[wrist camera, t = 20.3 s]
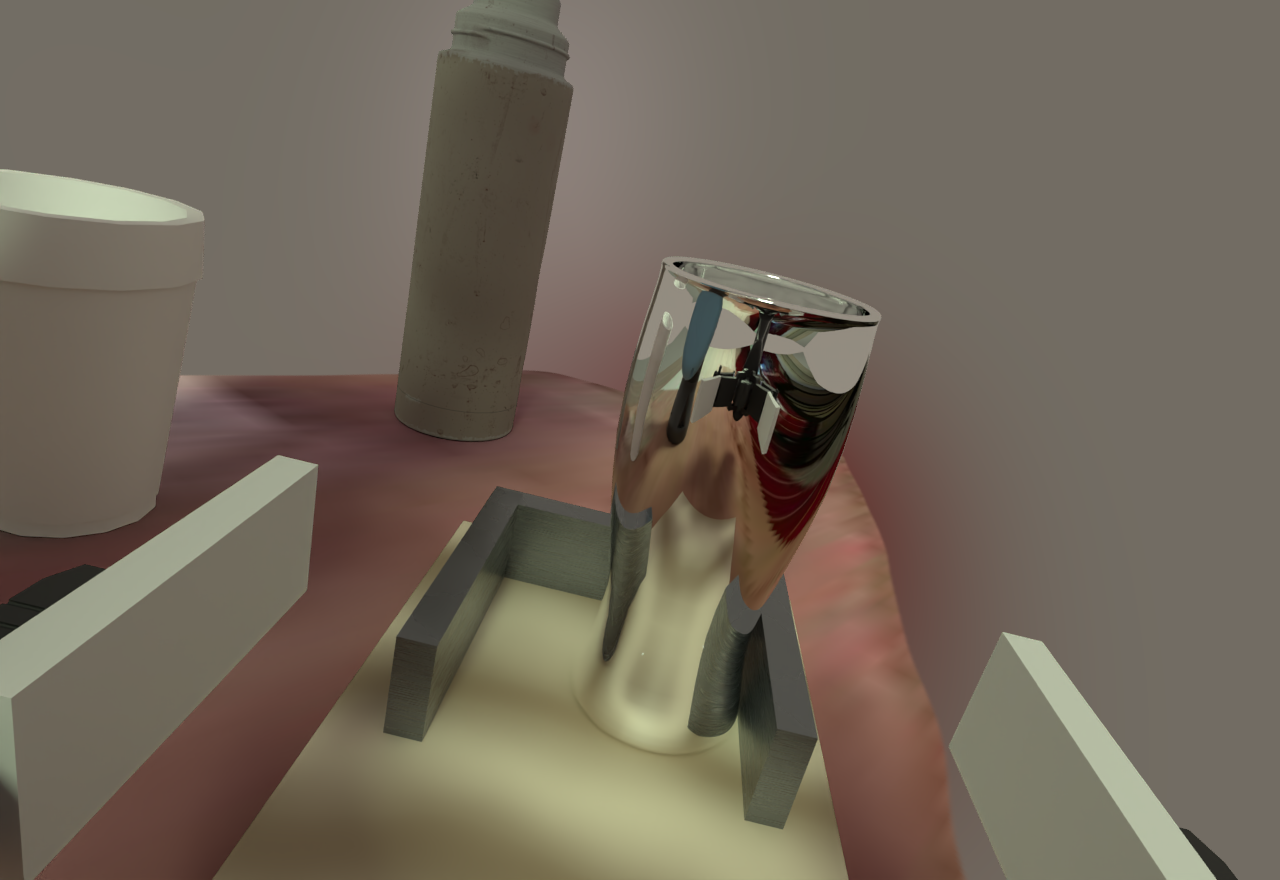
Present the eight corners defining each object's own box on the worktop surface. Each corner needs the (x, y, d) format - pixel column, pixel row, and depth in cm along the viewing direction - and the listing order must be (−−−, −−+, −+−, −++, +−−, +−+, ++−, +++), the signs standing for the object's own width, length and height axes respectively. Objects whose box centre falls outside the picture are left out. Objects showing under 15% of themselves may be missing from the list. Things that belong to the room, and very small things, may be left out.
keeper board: (910, 1357, 14) (939, 1313, 13) (59, 1151, 14) (57, 1100, 13) (780, 626, 36) (790, 599, 36) (459, 547, 36) (463, 520, 36)
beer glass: (540, 634, 29) (624, 242, 24) (702, 631, 32) (809, 278, 26) (587, 777, 23) (714, 294, 18) (782, 758, 26) (941, 333, 20)
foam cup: (-72, 578, 27) (-113, 200, 22) (-86, 468, 32) (-119, 152, 28) (224, 533, 33) (238, 236, 29) (168, 448, 39) (173, 191, 35)
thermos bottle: (462, 393, 57) (526, -20, 48) (535, 432, 53) (620, -11, 44) (369, 404, 51) (422, -68, 42) (444, 449, 47) (521, -64, 37)
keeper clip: (782, 829, 23) (818, 738, 22) (383, 732, 23) (396, 636, 22) (757, 623, 33) (779, 554, 32) (484, 557, 33) (497, 486, 32)
